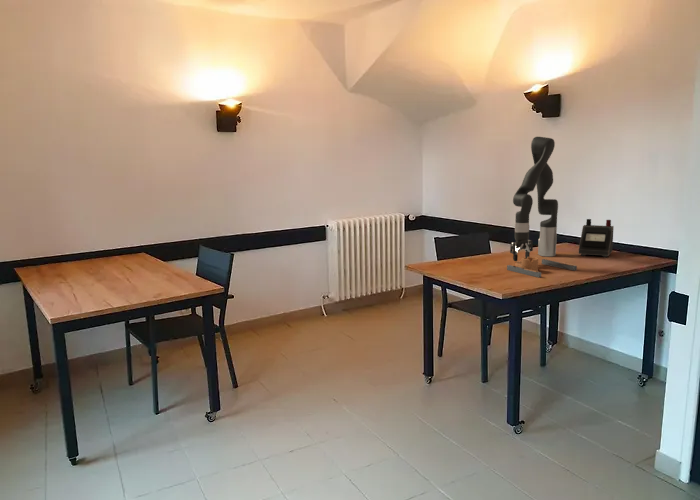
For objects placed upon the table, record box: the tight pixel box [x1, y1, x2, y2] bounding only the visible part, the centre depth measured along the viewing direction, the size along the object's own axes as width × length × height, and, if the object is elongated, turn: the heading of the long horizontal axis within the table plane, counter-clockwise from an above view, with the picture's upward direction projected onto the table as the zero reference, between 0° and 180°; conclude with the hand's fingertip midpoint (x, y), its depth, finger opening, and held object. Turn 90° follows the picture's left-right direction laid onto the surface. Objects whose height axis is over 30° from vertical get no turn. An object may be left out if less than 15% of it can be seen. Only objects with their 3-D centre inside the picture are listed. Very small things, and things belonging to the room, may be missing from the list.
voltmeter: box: [578, 218, 614, 259], centre depth 323 cm, size 16×16×20 cm
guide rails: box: [506, 258, 578, 278], centre depth 289 cm, size 22×27×3 cm
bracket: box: [515, 256, 539, 272], centre depth 293 cm, size 18×8×7 cm, turn 1°
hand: (521, 260), depth 301 cm, fingers open, 8 cm apart
